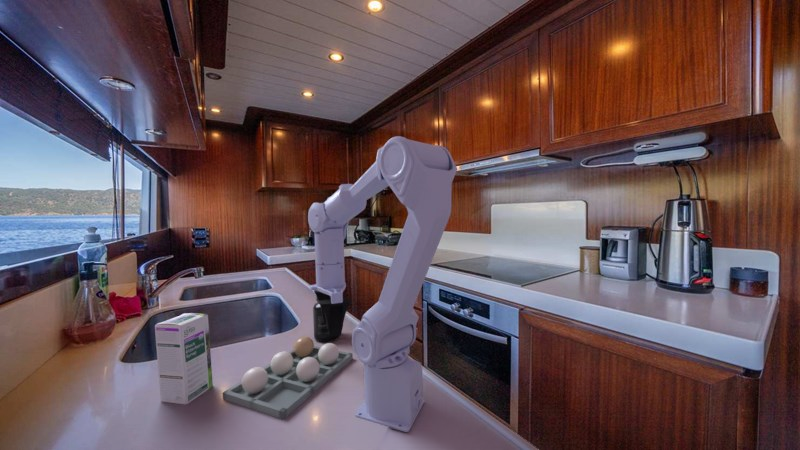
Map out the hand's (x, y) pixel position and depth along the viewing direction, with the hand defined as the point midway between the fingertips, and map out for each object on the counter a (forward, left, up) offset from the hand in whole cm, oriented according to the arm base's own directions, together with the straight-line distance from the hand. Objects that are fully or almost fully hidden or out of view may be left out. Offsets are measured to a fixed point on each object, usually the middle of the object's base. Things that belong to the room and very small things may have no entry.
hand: (332, 328), depth 61 cm
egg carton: (+6, +4, -9) cm, 12 cm away
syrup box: (+21, +16, -10) cm, 28 cm away
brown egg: (+9, -2, -9) cm, 13 cm away
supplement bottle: (+12, -14, -10) cm, 21 cm away
